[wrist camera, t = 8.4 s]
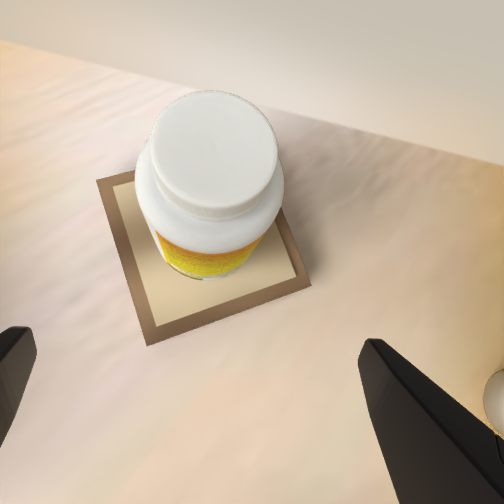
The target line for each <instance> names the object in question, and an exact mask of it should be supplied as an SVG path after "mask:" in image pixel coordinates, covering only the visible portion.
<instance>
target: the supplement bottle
mask: <svg viewBox="0 0 504 504" xmlns="http://www.w3.org/2000/svg"><path fill="white" fill-rule="evenodd" d="M135 190H136V195H137V199H138V203H139V206H140V209H141V211H142V213H143V216H144V218H145V220H146V223H147V225H148V227H149V229H150V232H151V234H152V236H153V238H154V241H155V243H156V245H157V247H158V249H159V251H160V253H161V255H162V257H163V258H164V260H165V261H166V262H167V263H168V265H169V266H170V267H171V268H173V269H174V270H175V271H176V272H178V273H180V274H181V275H183V276H185V277H188V278H191V279H194V280H200V281H211V280H217V279H221V278H224V277H226V276H228V275H230V274H232V273H233V272H235V271H236V270H237V269H239V268H240V267H241V266H242V265H243V264H244V262H245V261H246V260H247V258H248V257H249V256H250V254H251V253H252V251H253V250H254V249H255V247H256V246H257V244H258V243H259V242H260V240H261V239H262V237H263V236H264V234H265V233H266V231H267V230H268V229H269V227H270V226H271V224H272V223H273V221H274V219H275V218H276V216H277V214H278V211H279V209H280V207H281V204H282V200H283V195H284V175H283V170H282V166H281V163H280V160H279V158H278V144H277V140H276V136H275V133H274V131H273V128H272V126H271V125H270V123H269V121H268V120H267V118H266V117H265V116H264V115H263V114H262V112H261V111H260V110H259V109H257V108H256V107H255V106H254V105H253V104H251V103H250V102H248V101H247V100H245V99H243V98H241V97H239V96H237V95H234V94H230V93H227V92H222V91H212V90H209V91H198V92H194V93H190V94H187V95H185V96H182V97H180V98H179V99H177V100H175V101H174V102H172V103H171V104H170V105H168V106H167V107H166V108H165V109H164V110H163V111H162V113H161V114H160V115H159V117H158V119H157V120H156V122H155V125H154V127H153V130H152V133H151V137H150V138H149V139H148V141H147V142H146V143H145V145H144V147H143V148H142V150H141V153H140V155H139V158H138V161H137V164H136V170H135Z"/></svg>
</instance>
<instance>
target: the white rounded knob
mask: <svg viewBox="0 0 504 504" xmlns="http://www.w3.org/2000/svg"><path fill="white" fill-rule="evenodd" d="M483 404H484V409H485V413H486V415H487V418H488V420H489V422H490V423H491V425H492V426H493V427H494V428H495V429H496V430H497V431H498V432H499V433H500V434H502V435H503V436H504V370H501V371H498V372H497V373H495V374H494V375H492V376H491V378H490V379H489V380H488V382H487V384H486V386H485V389H484V395H483Z"/></svg>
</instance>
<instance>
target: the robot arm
mask: <svg viewBox="0 0 504 504" xmlns="http://www.w3.org/2000/svg"><path fill="white" fill-rule="evenodd" d="M36 355H37V349H36V345H35V341H34V337H33V333H32V330H31V328H29V327H23V326H13V327H10V328H8V329H6V330H5V331H3V332H2V333H0V447H1V445H2V443H3V441H4V439H5V437H6V435H7V433H8V431H9V429H10V427H11V424H12V422H13V420H14V418H15V415H16V413H17V410H18V407H19V405H20V402H21V399H22V396H23V393H24V391H25V388H26V385H27V382H28V379H29V376H30V374H31V371H32V368H33V365H34V362H35V359H36ZM358 368H359V372H360V377H361V381H362V385H363V390H364V394H365V398H366V403H367V407H368V411H369V415H370V418H371V421H372V425H373V428H374V431H375V433H376V436H377V439H378V442H379V445H380V448H381V451H382V454H383V457H384V460H385V463H386V466H387V469H388V471H389V474H390V477H391V480H392V483H393V486H394V489H395V492H396V495H397V498H398V501H399V504H504V440H503V439H502V438H501V437H500V436H499V435H497V434H495V433H494V431H492V430H491V429H490V428H489V427H488V426H486V425H485V424H484V423H483V422H482V421H480V420H479V419H478V418H477V417H475V416H474V415H473V414H472V413H471V412H469V411H468V410H467V409H466V408H465V407H463V406H462V405H461V404H460V403H458V402H457V401H456V400H455V399H454V398H452V397H451V396H450V395H449V394H448V393H446V392H445V391H444V390H443V389H442V388H440V387H439V386H438V385H437V384H435V383H434V382H433V381H432V380H431V379H429V378H428V377H427V376H426V375H425V374H423V373H422V372H421V371H420V370H419V369H417V368H416V367H415V366H414V365H412V364H411V363H410V362H409V361H408V360H406V359H405V358H404V357H403V356H402V355H400V354H399V353H398V352H397V351H396V350H394V349H393V348H392V347H391V346H389V345H388V344H387V343H386V342H385V341H383V340H382V339H374V338H369V339H367V340H366V341H365V343H364V345H363V348H362V350H361V352H360V355H359V358H358Z"/></svg>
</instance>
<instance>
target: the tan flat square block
mask: <svg viewBox="0 0 504 504" xmlns="http://www.w3.org/2000/svg"><path fill="white" fill-rule="evenodd" d="M96 182H97V185H98V188H99V192H100V195H101V198H102V202H103V205H104V208H105V211H106V215H107V218H108V221H109V224H110V228H111V231H112V234H113V237H114V241H115V244H116V247H117V250H118V254H119V257H120V260H121V263H122V267H123V270H124V273H125V277H126V280H127V283H128V286H129V290H130V293H131V296H132V299H133V303H134V306H135V309H136V312H137V316H138V319H139V322H140V325H141V329H142V332H143V335H144V339H145V342H146V345H147V346H149V345H152V344H155V343H158V342H160V341H163V340H166V339H169V338H171V337H174V336H177V335H179V334H182V333H185V332H188V331H190V330H193V329H196V328H198V327H201V326H204V325H207V324H209V323H212V322H215V321H218V320H220V319H223V318H226V317H228V316H231V315H234V314H237V313H239V312H242V311H245V310H247V309H250V308H253V307H256V306H258V305H261V304H264V303H266V302H269V301H272V300H275V299H277V298H280V297H283V296H285V295H288V294H291V293H294V292H296V291H299V290H302V289H304V288H307V287H309V286H312V285H311V282H310V280H309V277H308V275H307V272H306V270H305V267H304V265H303V262H302V260H301V257H300V254H299V252H298V249H297V247H296V244H295V242H294V239H293V237H292V234H291V231H290V229H289V226H288V224H287V221H286V219H285V216H284V214H283V211H282V209H281V207H280V209H279V211H278V214H277V216H276V218H275V219H274V221H273V223H272V224H271V226H270V227H269V229H268V230H267V231H266V233H265V234H264V236H263V237H262V239H261V240H260V242H259V243H258V244H257V246H256V247H255V249H254V250H253V251H252V253H251V254H250V256H249V257H248V258H247V260H246V261H245V262H244V264H243V265H242V266H241V267H240V268H239V269H237V270H236V271H235V272H233V273H232V274H230V275H228V276H226V277H224V278H221V279H217V280H211V281H200V280H194V279H191V278H188V277H185V276H183V275H181V274H180V273H178V272H176V271H175V270H174V269H173V268H171V267H170V266H169V265H168V263H167V262H166V261H165V260H164V258H163V257H162V255H161V253H160V251H159V249H158V247H157V245H156V243H155V241H154V238H153V236H152V234H151V232H150V229H149V227H148V225H147V223H146V220H145V218H144V216H143V213H142V211H141V209H140V206H139V203H138V199H137V195H136V190H135V170H134V171H130V172H126V173H122V174H118V175H114V176H110V177H106V178H102V179H98V180H96Z"/></svg>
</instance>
